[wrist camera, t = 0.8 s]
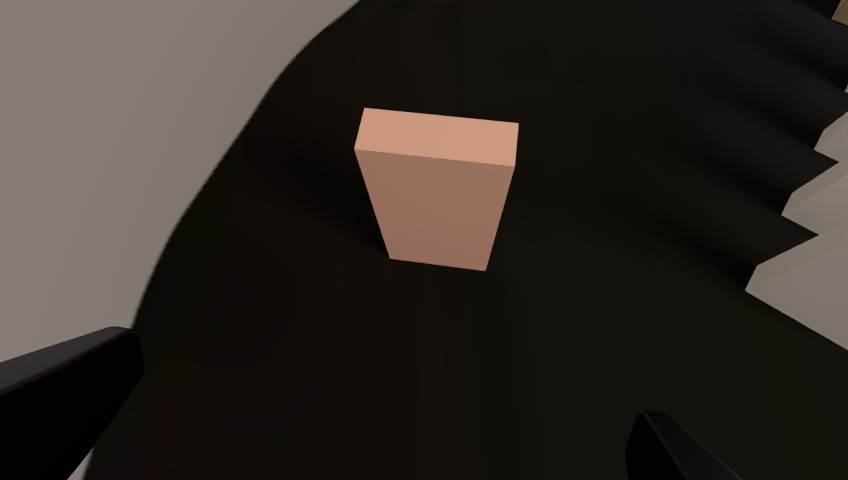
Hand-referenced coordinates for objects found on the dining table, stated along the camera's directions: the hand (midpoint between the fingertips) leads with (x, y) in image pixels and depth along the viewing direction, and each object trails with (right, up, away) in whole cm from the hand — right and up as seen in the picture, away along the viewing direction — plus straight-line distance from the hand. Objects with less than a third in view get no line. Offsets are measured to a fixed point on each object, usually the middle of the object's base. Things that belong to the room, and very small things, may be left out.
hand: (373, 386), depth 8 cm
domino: (+2, +2, +15) cm, 15 cm away
